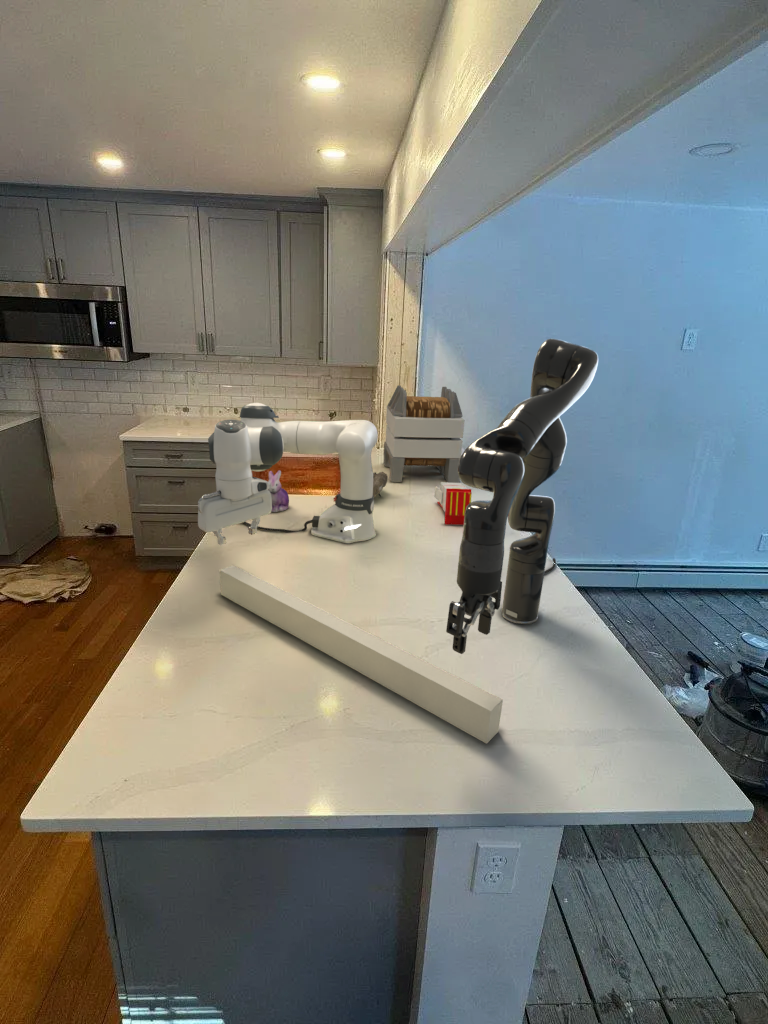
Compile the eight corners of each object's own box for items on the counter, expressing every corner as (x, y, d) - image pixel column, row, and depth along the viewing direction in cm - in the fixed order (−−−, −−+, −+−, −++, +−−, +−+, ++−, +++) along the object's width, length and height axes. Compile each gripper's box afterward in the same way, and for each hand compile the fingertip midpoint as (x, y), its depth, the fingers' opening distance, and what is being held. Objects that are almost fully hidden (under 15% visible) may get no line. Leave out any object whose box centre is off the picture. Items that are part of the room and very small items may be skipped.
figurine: (269, 514, 212) (268, 475, 207) (262, 505, 221) (260, 468, 216) (293, 511, 217) (293, 473, 212) (285, 503, 225) (284, 466, 220)
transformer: (382, 463, 289) (386, 382, 275) (445, 464, 293) (451, 384, 279) (390, 482, 257) (394, 392, 243) (460, 483, 261) (468, 394, 247)
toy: (462, 478, 235) (476, 490, 206) (460, 509, 238) (473, 526, 208) (433, 477, 234) (442, 489, 205) (431, 509, 237) (440, 525, 208)
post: (220, 594, 153) (219, 569, 150) (234, 589, 156) (233, 564, 154) (486, 744, 104) (491, 711, 102) (498, 731, 108) (503, 699, 105)
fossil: (356, 478, 247) (383, 459, 242) (370, 494, 250) (397, 476, 245) (349, 499, 228) (378, 479, 223) (363, 516, 230) (393, 497, 225)
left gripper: (205, 499, 131) (209, 554, 136) (274, 481, 146) (276, 531, 150) (190, 493, 135) (194, 546, 139) (259, 476, 149) (261, 525, 154)
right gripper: (477, 582, 90) (468, 667, 96) (519, 555, 101) (508, 634, 106) (438, 567, 95) (432, 649, 100) (483, 543, 105) (474, 619, 111)
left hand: (237, 538), depth 145 cm, fingers open, 8 cm apart
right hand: (471, 641), depth 103 cm, fingers open, 8 cm apart
